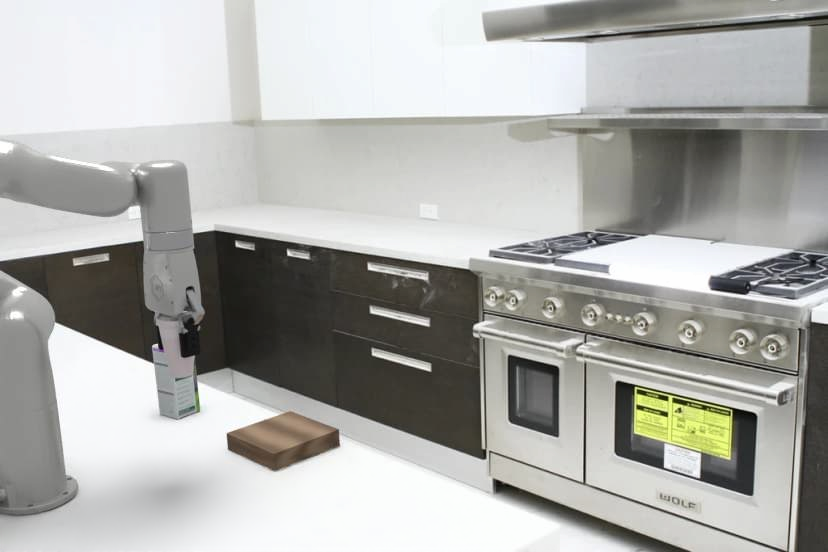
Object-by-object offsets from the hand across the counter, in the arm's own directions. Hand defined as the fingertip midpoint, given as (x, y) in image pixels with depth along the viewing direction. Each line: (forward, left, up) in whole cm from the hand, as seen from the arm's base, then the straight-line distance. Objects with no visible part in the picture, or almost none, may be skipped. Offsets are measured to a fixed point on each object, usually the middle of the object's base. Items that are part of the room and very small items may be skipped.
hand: (179, 350), depth 142 cm
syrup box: (+14, +28, -22) cm, 38 cm away
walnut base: (+17, -2, -22) cm, 28 cm away
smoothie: (0, 0, -4) cm, 4 cm away
